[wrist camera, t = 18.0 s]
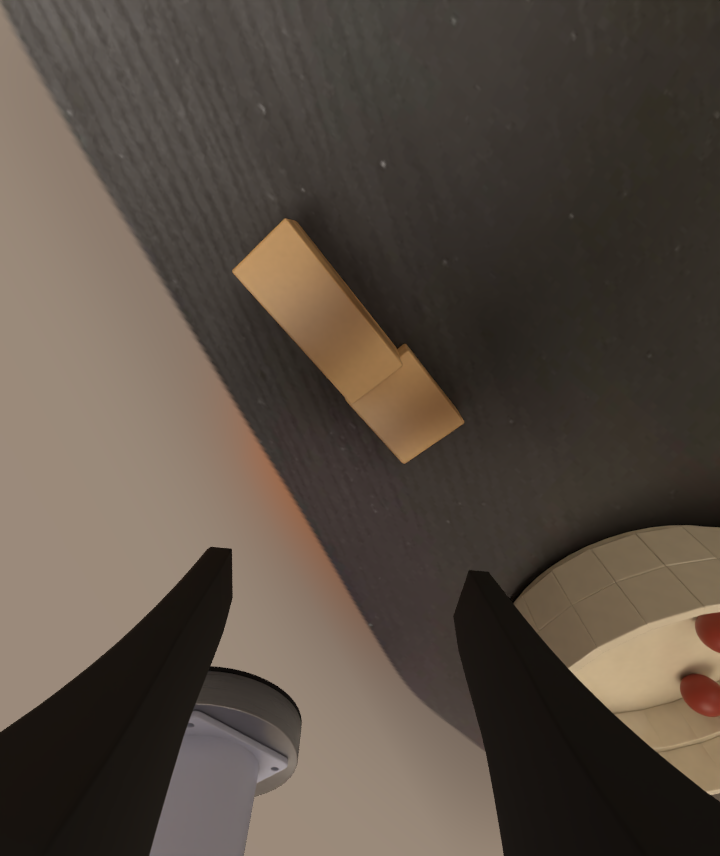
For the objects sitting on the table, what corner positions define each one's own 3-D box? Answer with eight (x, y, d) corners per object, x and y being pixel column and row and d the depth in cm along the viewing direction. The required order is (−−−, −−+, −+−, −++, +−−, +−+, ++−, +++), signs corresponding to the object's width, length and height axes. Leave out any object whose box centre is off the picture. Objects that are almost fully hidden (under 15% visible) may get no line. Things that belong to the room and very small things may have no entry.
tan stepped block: (241, 273, 15) (222, 279, 13) (304, 212, 14) (294, 207, 12) (400, 451, 18) (406, 481, 16) (458, 411, 17) (473, 436, 15)
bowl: (573, 738, 29) (613, 830, 25) (436, 623, 23) (456, 715, 19) (821, 635, 24) (927, 726, 20) (726, 459, 19) (844, 530, 14)
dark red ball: (672, 677, 24) (680, 664, 26) (680, 716, 24) (688, 700, 25) (719, 688, 23) (725, 673, 24) (728, 730, 22) (734, 712, 24)
